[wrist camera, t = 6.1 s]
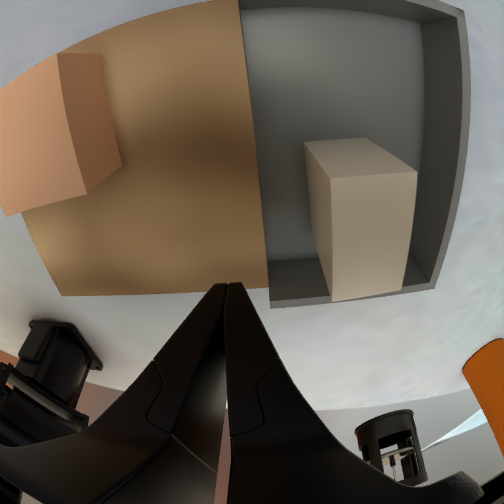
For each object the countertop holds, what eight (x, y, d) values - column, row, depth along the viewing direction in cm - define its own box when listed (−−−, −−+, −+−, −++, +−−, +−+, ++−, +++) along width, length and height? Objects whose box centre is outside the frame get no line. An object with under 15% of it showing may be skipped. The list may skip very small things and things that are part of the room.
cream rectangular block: (311, 235, 15) (365, 228, 15) (331, 302, 11) (400, 290, 10) (303, 142, 12) (365, 137, 12) (330, 178, 8) (417, 172, 8)
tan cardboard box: (122, 165, 11) (87, 193, 8) (42, 187, 11) (5, 216, 8) (100, 54, 8) (56, 53, 5) (19, 96, 8) (-24, 109, 6)
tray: (409, 252, 16) (434, 288, 13) (267, 264, 16) (270, 308, 14) (422, 17, 8) (463, 10, 5) (239, 3, 9) (233, -22, 6)
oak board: (267, 257, 16) (269, 287, 14) (77, 272, 17) (61, 296, 15) (240, 12, 9) (237, -3, 7) (19, 90, 10) (-10, 98, 8)
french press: (339, 432, 34) (352, 567, 15) (391, 405, 29) (418, 557, 10) (381, 435, 37) (397, 546, 18) (426, 412, 33) (452, 531, 14)
